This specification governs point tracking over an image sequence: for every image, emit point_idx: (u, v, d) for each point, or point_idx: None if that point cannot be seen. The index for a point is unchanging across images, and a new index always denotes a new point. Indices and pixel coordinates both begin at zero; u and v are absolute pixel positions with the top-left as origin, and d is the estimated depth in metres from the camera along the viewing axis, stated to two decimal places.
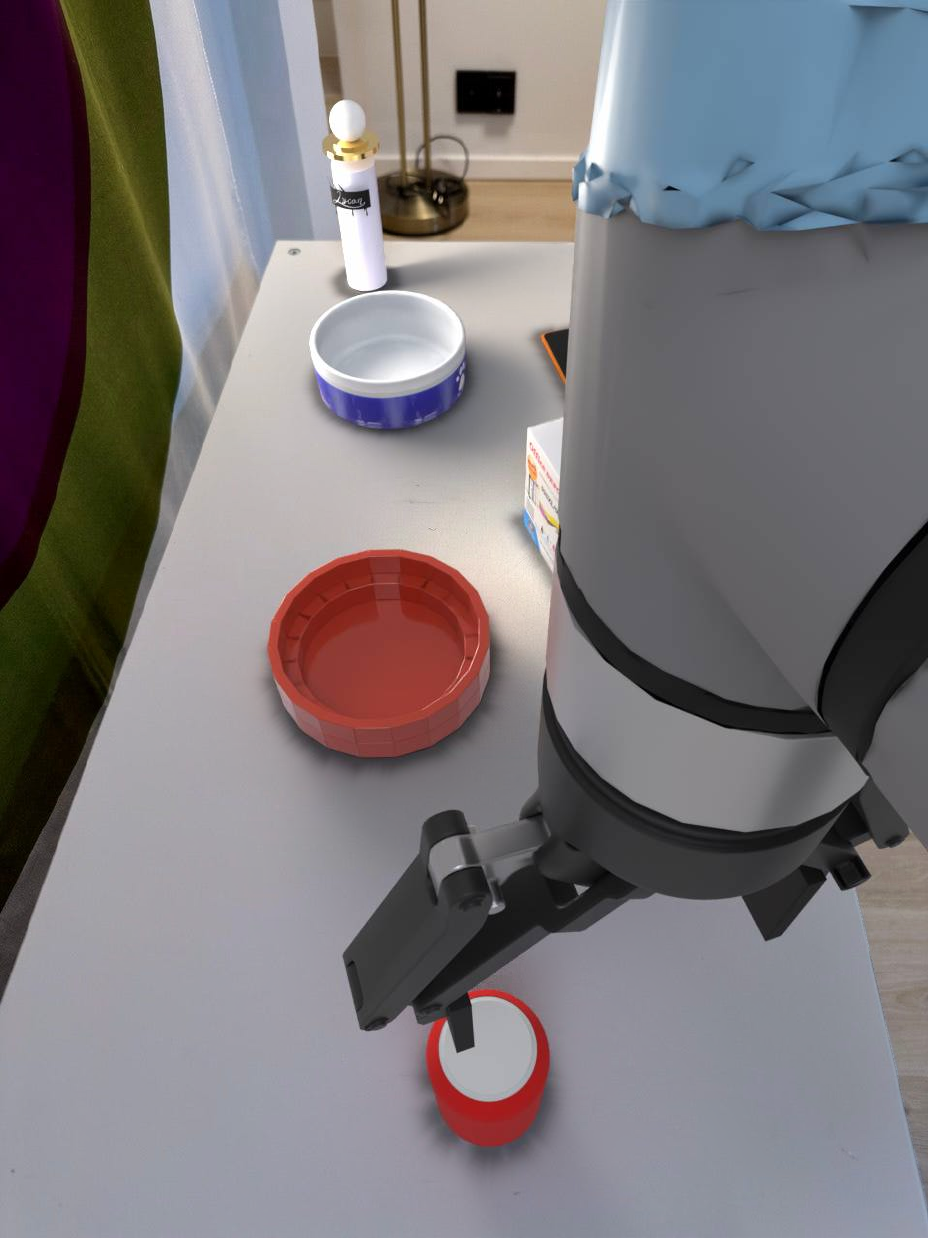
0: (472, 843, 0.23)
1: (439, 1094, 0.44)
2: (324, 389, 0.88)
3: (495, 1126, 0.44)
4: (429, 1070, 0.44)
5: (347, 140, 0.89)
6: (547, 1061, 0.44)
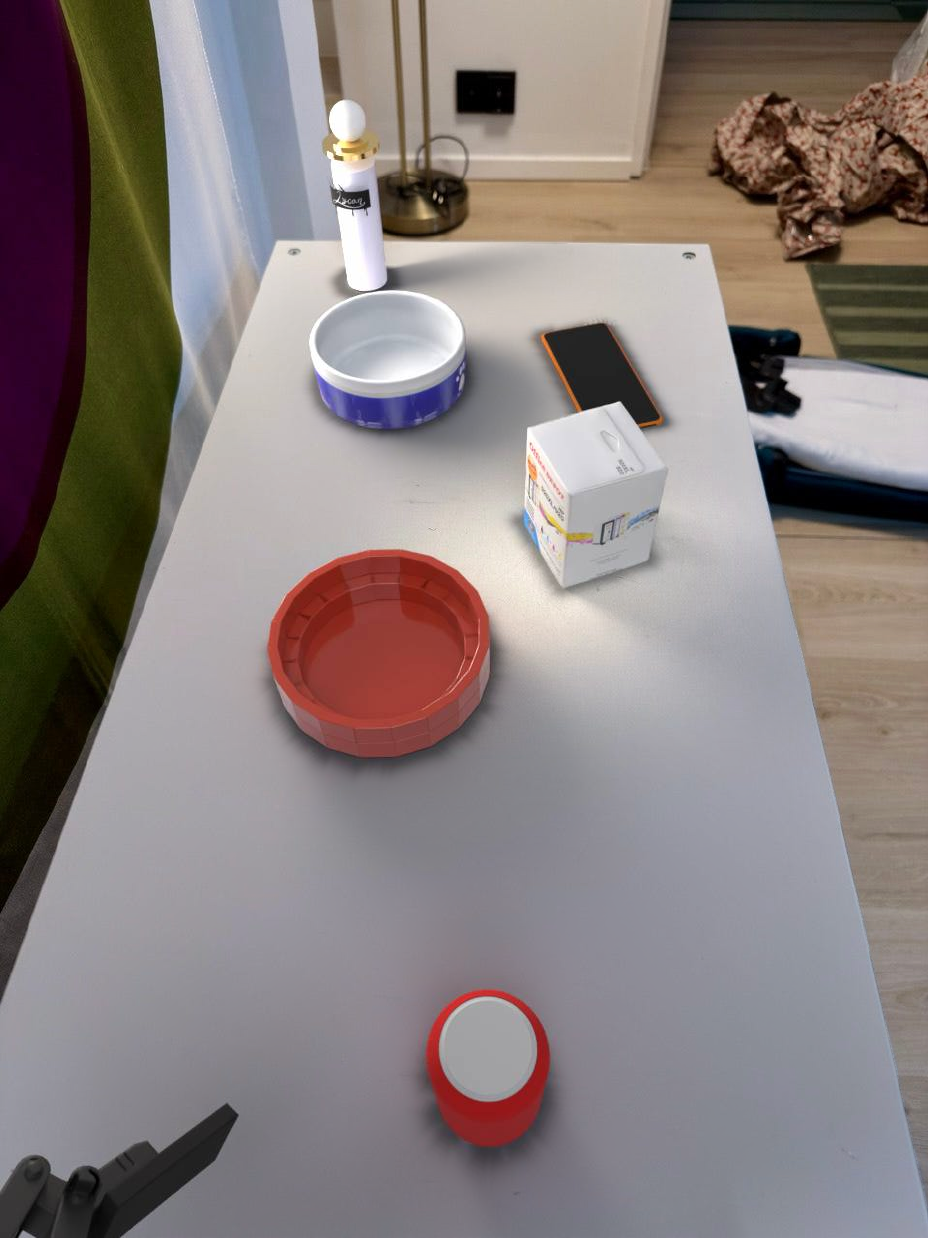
0: None
1: (439, 1094, 0.44)
2: (324, 389, 0.88)
3: (495, 1126, 0.44)
4: (429, 1070, 0.44)
5: (347, 140, 0.89)
6: (547, 1061, 0.44)
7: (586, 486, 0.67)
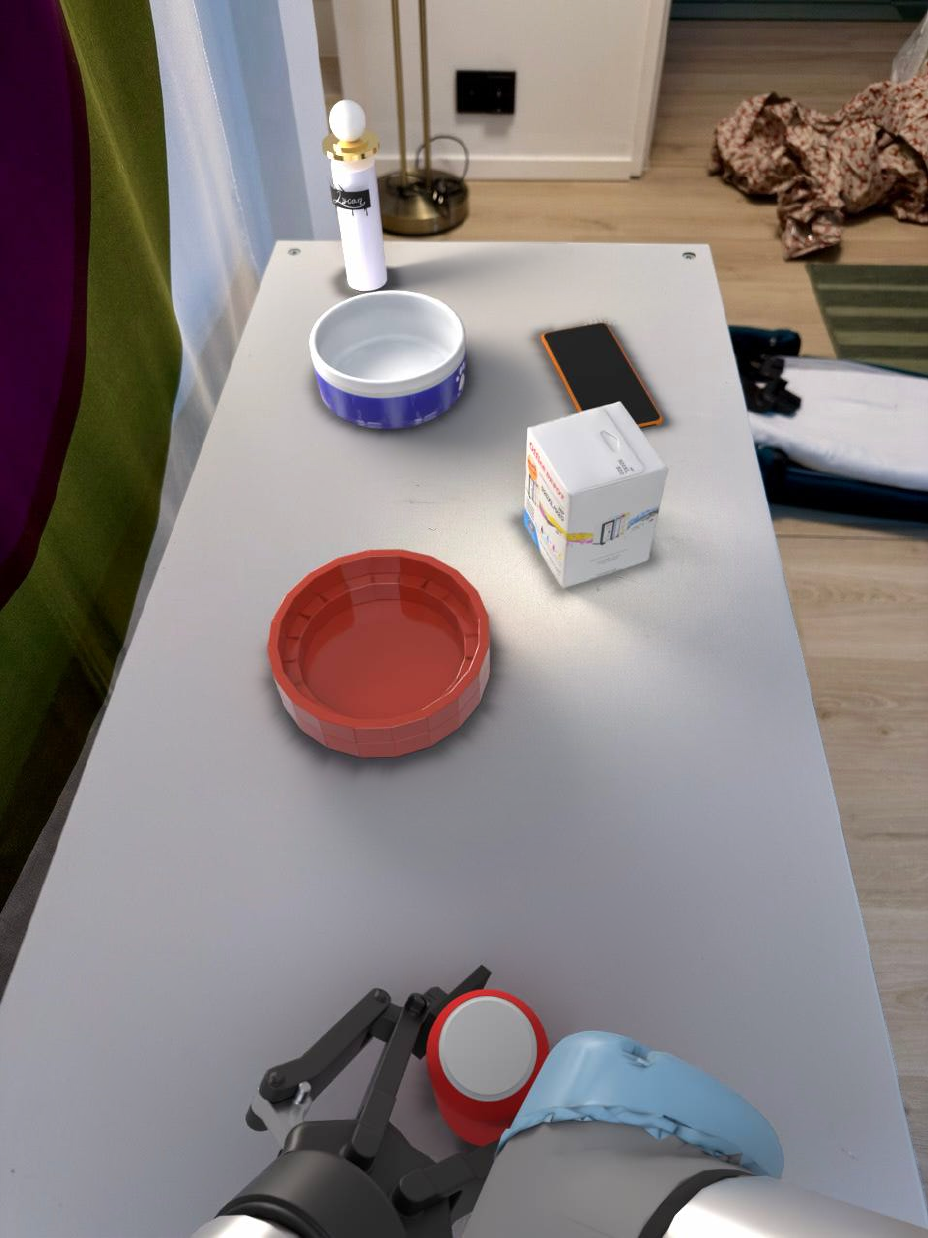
0: None
1: (439, 1094, 0.44)
2: (324, 389, 0.88)
3: (495, 1126, 0.44)
4: (429, 1070, 0.44)
5: (347, 140, 0.89)
6: None
7: (586, 486, 0.67)
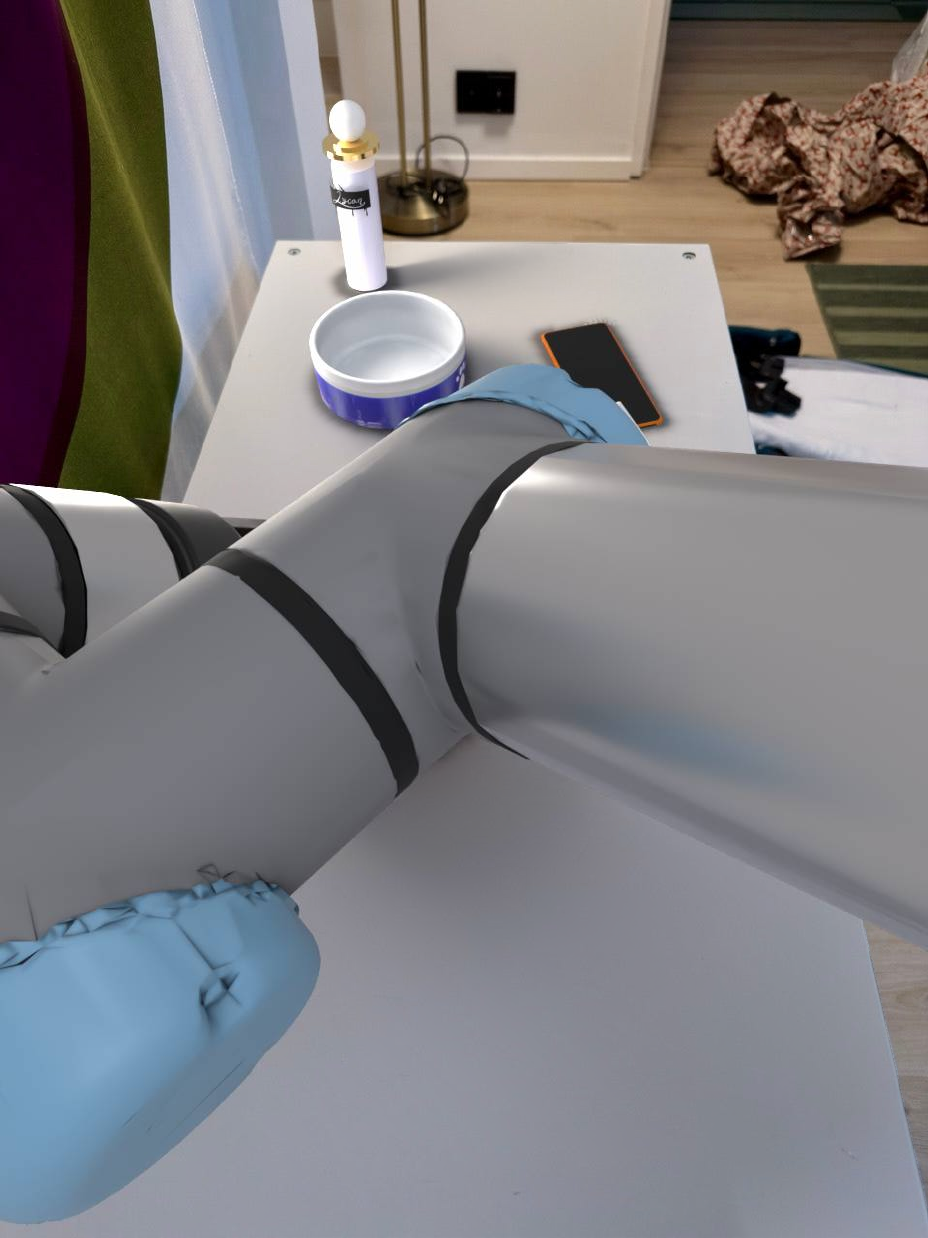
0: None
1: None
2: (324, 389, 0.88)
3: None
4: None
5: (347, 140, 0.89)
6: None
7: None
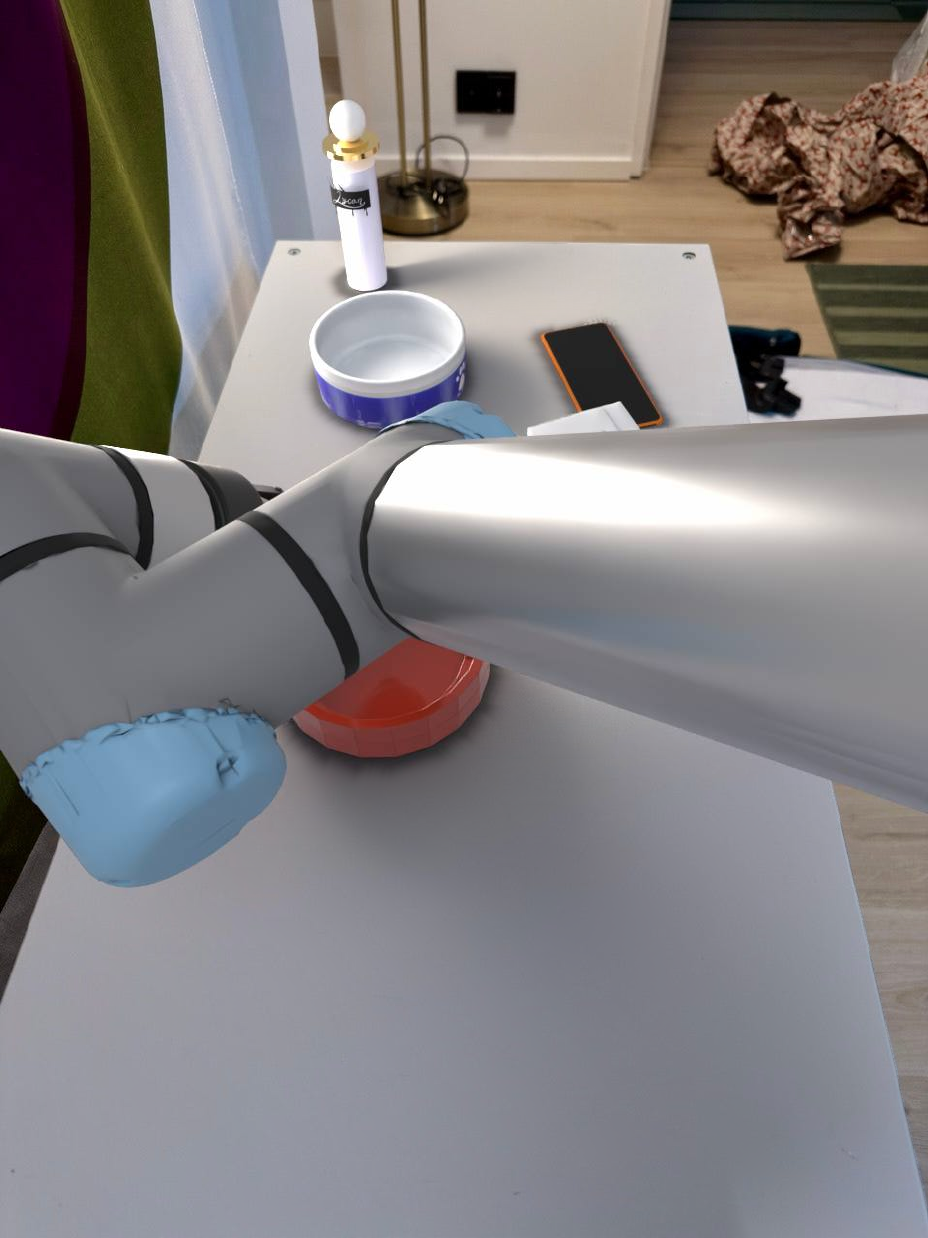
0: None
1: None
2: (324, 389, 0.88)
3: None
4: None
5: (347, 140, 0.89)
6: None
7: None
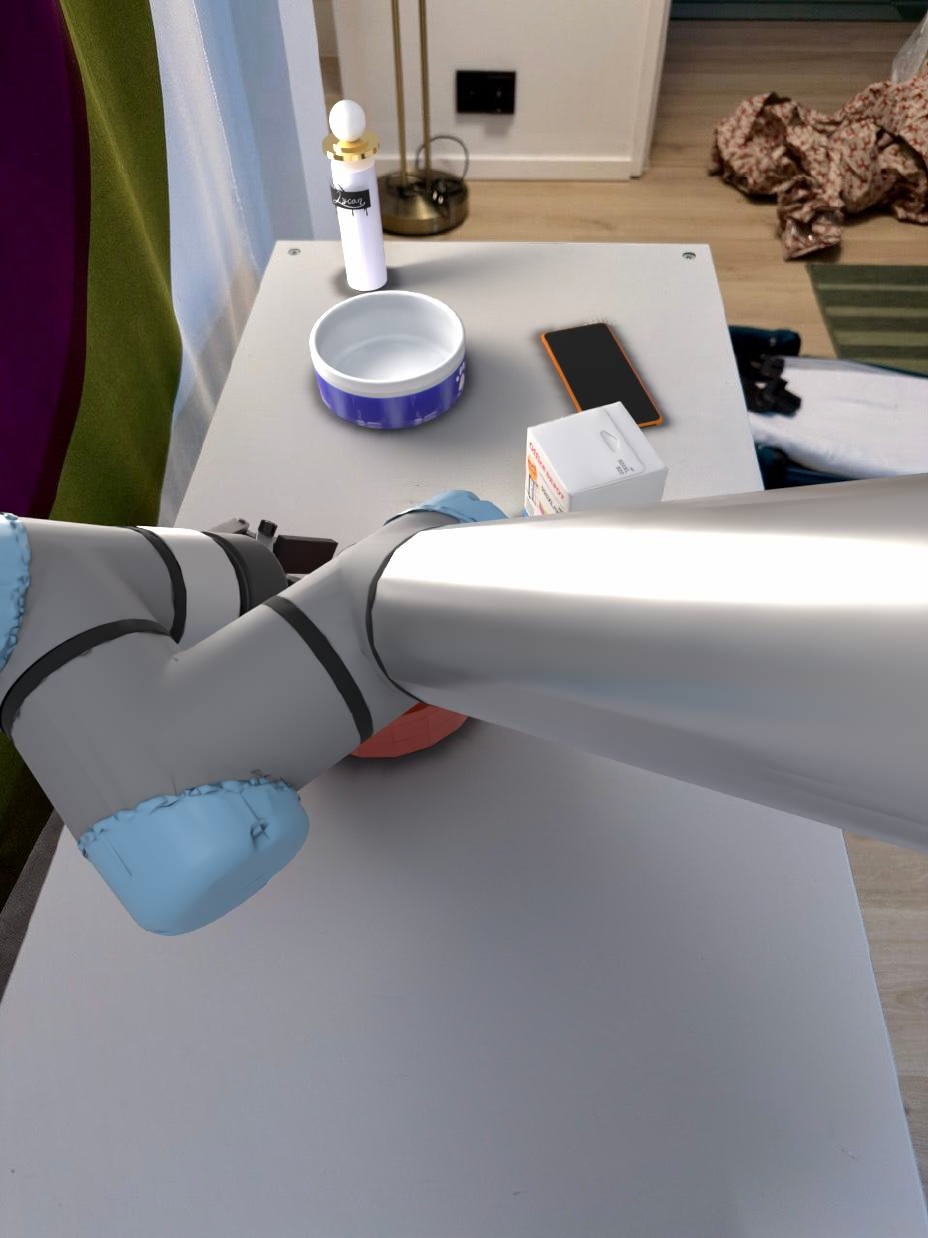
0: None
1: None
2: (324, 389, 0.88)
3: None
4: None
5: (347, 140, 0.89)
6: None
7: (586, 486, 0.67)
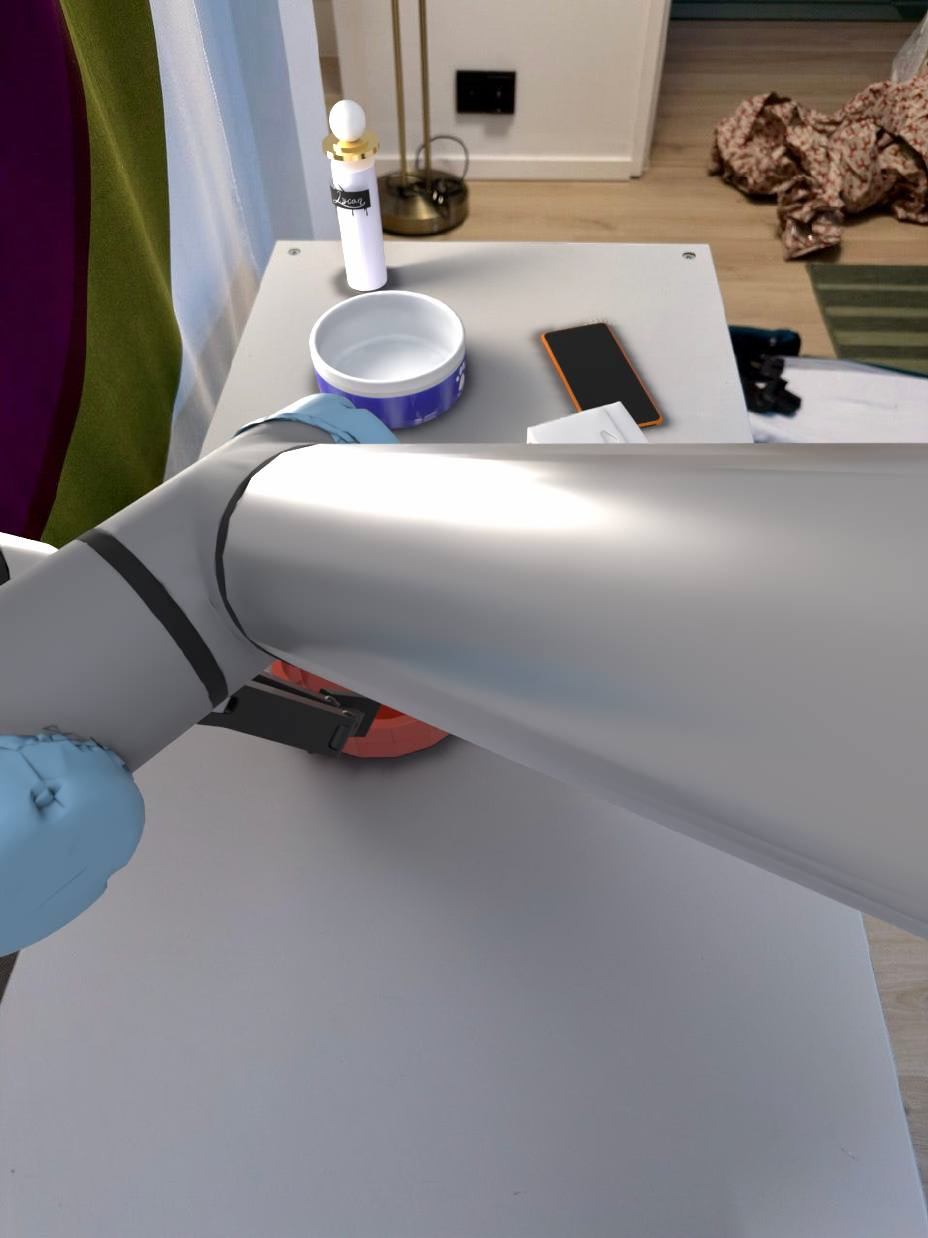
0: None
1: None
2: (324, 389, 0.88)
3: None
4: None
5: (347, 140, 0.89)
6: None
7: None
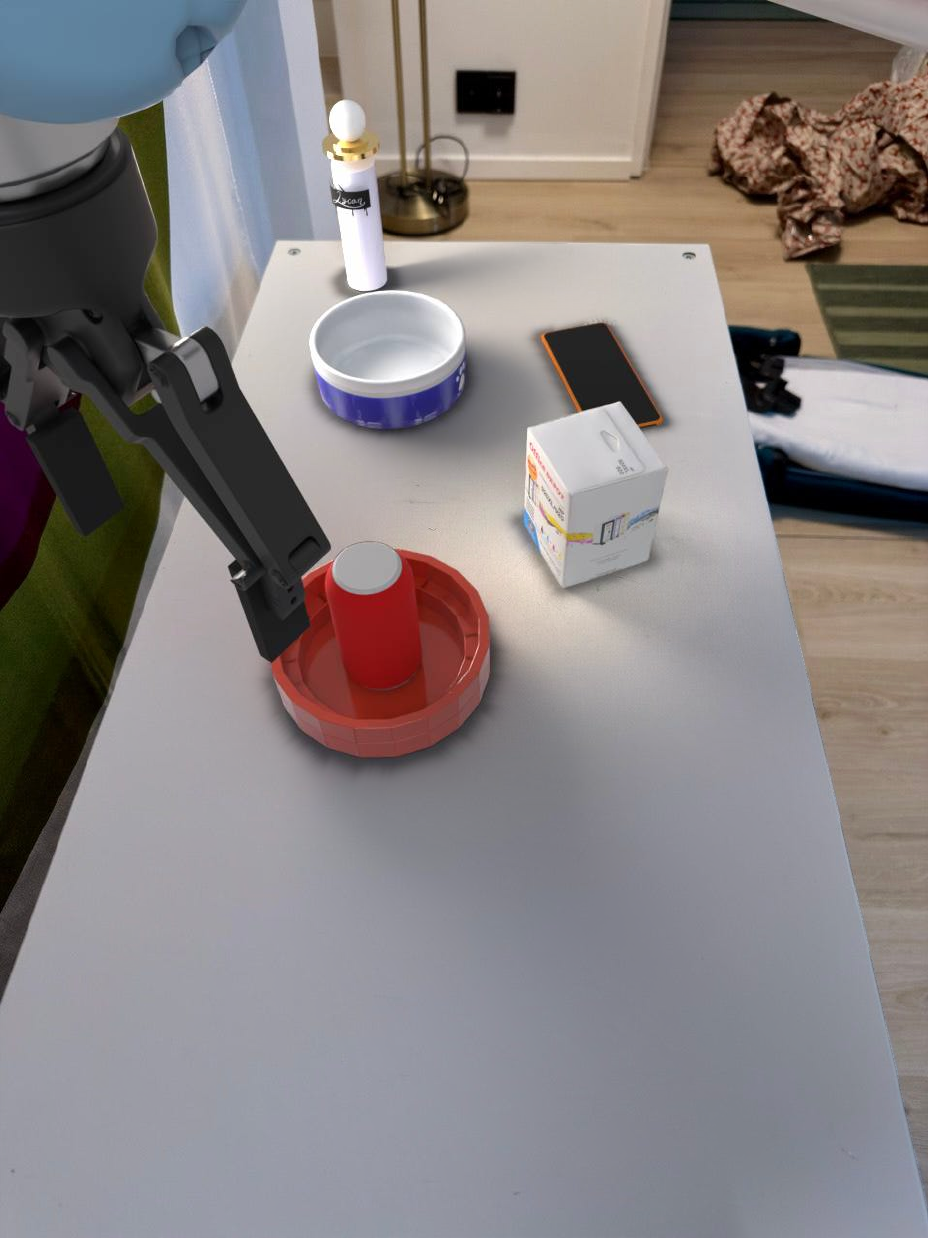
0: (169, 347, 0.30)
1: (332, 600, 0.61)
2: (324, 389, 0.88)
3: (373, 627, 0.62)
4: (326, 588, 0.62)
5: (347, 140, 0.89)
6: (410, 581, 0.62)
7: (586, 486, 0.67)
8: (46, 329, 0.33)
